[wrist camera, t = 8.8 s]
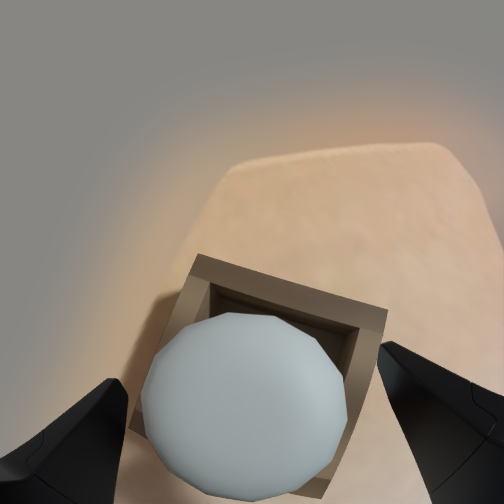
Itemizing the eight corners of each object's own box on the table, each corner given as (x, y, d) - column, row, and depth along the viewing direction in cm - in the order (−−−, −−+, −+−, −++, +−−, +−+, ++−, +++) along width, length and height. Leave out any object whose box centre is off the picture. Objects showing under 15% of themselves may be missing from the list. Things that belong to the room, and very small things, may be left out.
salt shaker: (203, 394, 16) (57, 420, 4) (250, 323, 17) (191, 214, 6) (280, 440, 14) (284, 570, 2) (328, 366, 16) (443, 347, 4)
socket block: (312, 473, 13) (321, 499, 9) (158, 418, 16) (128, 427, 12) (364, 324, 18) (388, 309, 13) (214, 278, 20) (197, 253, 16)
